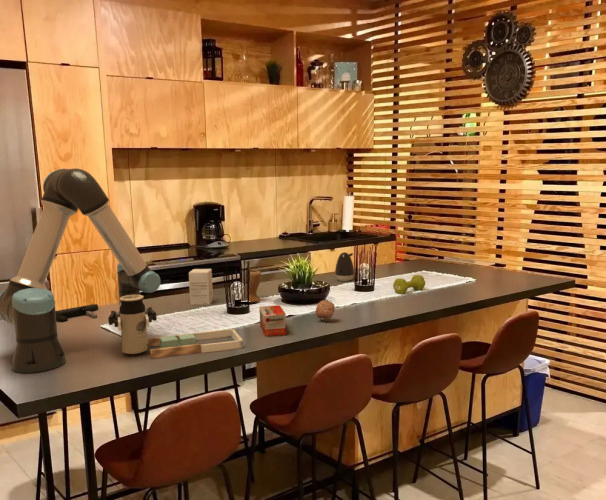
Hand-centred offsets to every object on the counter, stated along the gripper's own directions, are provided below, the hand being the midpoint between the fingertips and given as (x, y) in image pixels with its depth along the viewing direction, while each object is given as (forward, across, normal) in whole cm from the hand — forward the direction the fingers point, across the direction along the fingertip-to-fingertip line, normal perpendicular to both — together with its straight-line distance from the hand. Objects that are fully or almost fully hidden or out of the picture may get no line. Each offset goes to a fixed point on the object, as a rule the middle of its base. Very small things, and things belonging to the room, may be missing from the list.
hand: (133, 324), depth 179 cm
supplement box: (-70, -32, -11) cm, 78 cm away
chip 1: (-5, -11, -11) cm, 16 cm away
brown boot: (-64, -52, -11) cm, 83 cm away
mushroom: (-17, -72, -11) cm, 75 cm away
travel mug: (-5, 0, -10) cm, 11 cm away
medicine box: (-13, -50, -12) cm, 52 cm away
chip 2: (-5, -17, -11) cm, 21 cm away
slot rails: (-5, -12, -11) cm, 17 cm away
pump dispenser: (-90, -111, -11) cm, 144 cm away
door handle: (-66, +20, -12) cm, 70 cm away
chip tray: (-5, -27, -11) cm, 30 cm away
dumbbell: (-51, -128, -12) cm, 139 cm away
